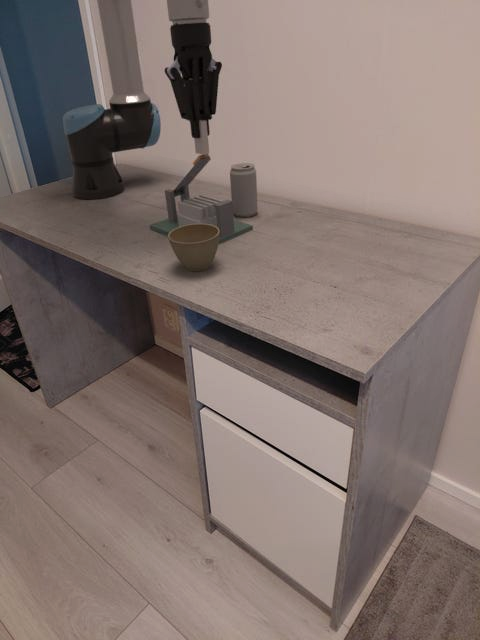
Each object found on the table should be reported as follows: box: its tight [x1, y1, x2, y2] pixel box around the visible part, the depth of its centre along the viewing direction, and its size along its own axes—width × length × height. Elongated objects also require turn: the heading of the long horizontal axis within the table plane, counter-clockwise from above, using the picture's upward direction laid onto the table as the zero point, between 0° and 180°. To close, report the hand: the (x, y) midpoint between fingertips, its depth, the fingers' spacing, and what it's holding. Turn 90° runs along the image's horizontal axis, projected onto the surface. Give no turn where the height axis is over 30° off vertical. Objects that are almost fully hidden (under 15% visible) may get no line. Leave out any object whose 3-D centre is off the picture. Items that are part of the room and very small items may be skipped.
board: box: [149, 185, 254, 245], centre depth 110 cm, size 20×15×8 cm
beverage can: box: [229, 162, 259, 218], centre depth 116 cm, size 6×6×12 cm
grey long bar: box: [172, 154, 212, 198], centre depth 107 cm, size 16×3×2 cm
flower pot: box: [167, 223, 220, 272], centre depth 93 cm, size 10×10×7 cm
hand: (202, 153), depth 101 cm, fingers closed
